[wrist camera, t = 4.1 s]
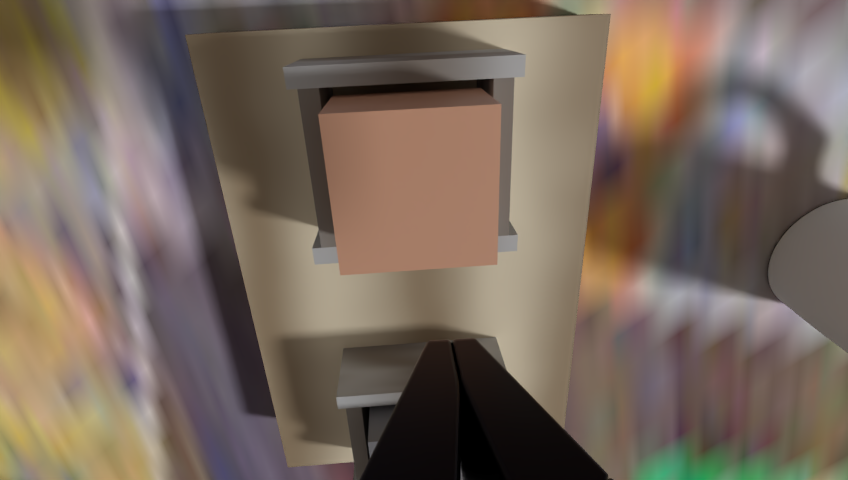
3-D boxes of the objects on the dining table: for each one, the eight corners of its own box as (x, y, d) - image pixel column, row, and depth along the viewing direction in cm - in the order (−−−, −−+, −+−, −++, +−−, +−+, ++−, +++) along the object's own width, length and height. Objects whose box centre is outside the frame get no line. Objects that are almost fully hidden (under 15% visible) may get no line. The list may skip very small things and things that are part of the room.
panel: (298, 421, 26) (274, 525, 21) (216, 32, 18) (140, 38, 13) (545, 401, 27) (583, 498, 22) (578, 14, 18) (655, 12, 13)
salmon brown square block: (349, 231, 16) (340, 275, 13) (332, 95, 14) (318, 114, 11) (479, 223, 16) (497, 264, 13) (480, 87, 14) (501, 104, 11)
